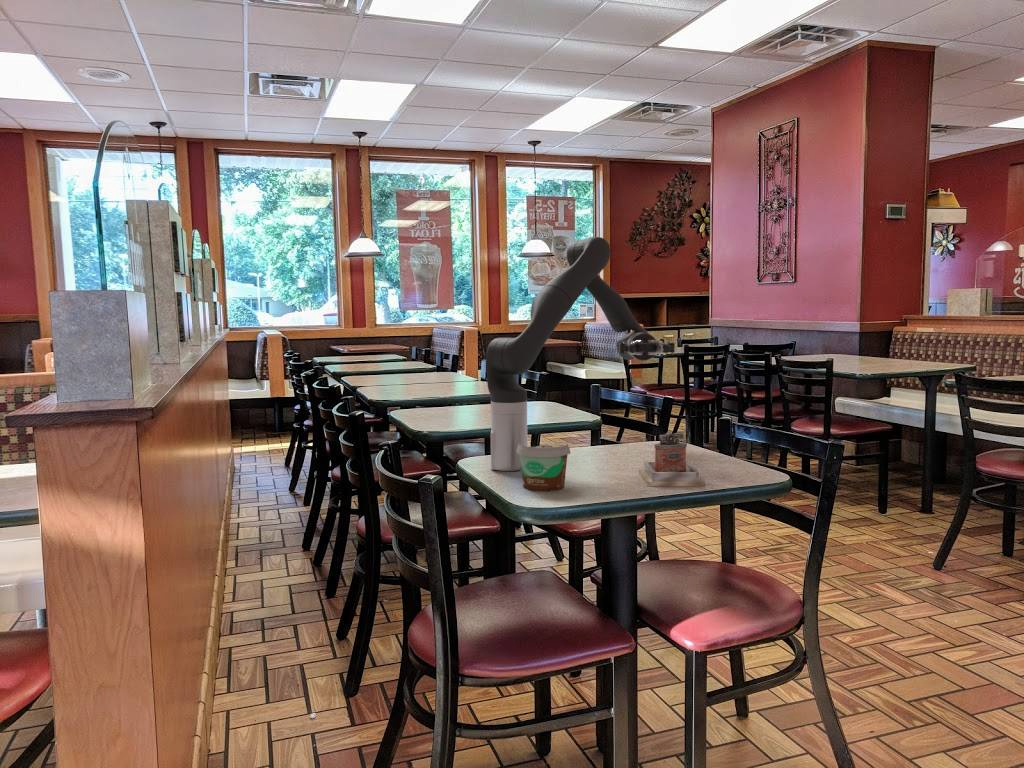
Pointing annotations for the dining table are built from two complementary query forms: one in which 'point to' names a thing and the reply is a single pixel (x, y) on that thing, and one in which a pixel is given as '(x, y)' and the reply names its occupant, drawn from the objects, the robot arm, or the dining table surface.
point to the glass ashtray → (670, 476)
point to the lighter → (670, 453)
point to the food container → (543, 467)
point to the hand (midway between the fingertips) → (650, 348)
